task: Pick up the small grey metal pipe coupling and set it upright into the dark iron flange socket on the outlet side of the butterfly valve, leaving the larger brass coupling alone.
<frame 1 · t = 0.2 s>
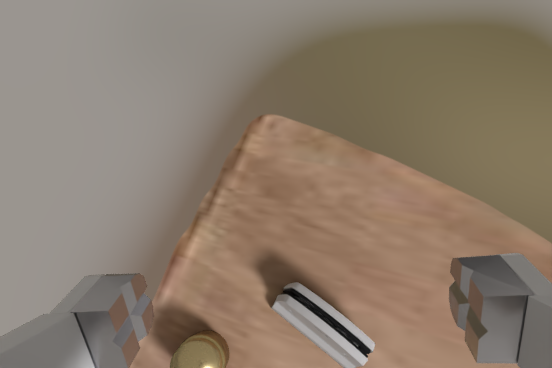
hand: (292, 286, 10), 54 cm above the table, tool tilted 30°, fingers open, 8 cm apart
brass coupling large: (207, 353, 63), on the table
grey bevelled device: (322, 319, 62), on the table
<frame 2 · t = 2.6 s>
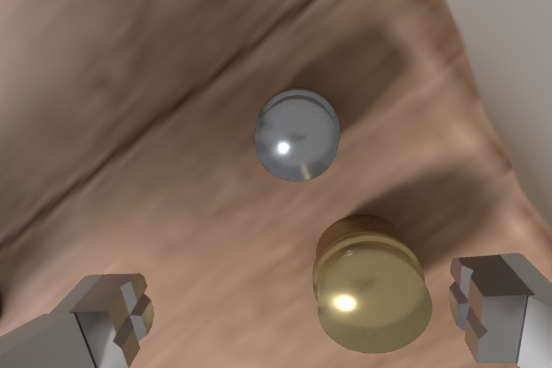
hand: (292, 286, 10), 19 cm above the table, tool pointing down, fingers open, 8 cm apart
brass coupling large: (360, 254, 31), on the table
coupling: (298, 121, 28), on the table
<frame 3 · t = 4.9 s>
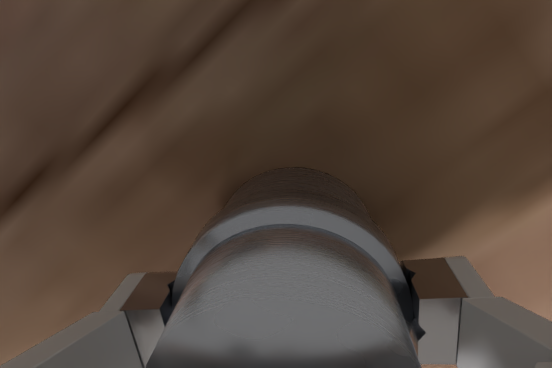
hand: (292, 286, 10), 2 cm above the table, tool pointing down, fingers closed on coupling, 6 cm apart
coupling: (294, 240, 12), on the table, touching gripper
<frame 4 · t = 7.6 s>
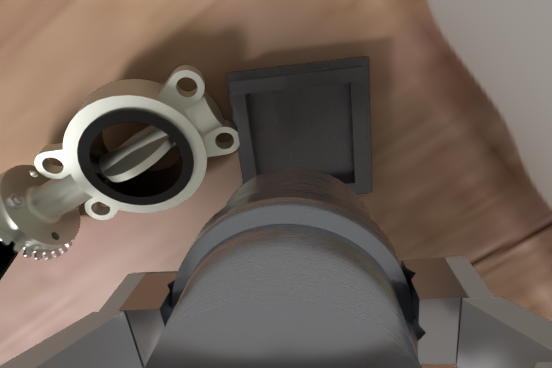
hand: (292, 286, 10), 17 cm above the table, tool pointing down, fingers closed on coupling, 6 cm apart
flange socket: (302, 131, 25), on the table
butterfly valve: (136, 152, 28), on the table, touching flange socket
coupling: (294, 240, 12), point 15 cm above the table, touching gripper
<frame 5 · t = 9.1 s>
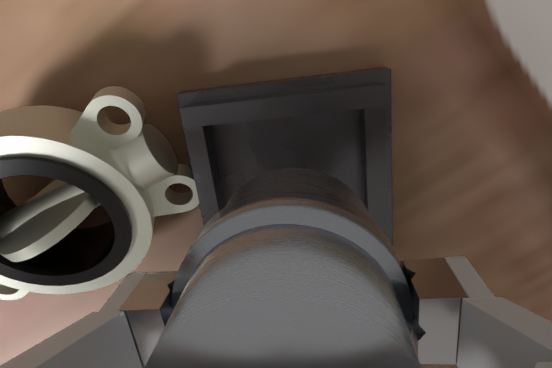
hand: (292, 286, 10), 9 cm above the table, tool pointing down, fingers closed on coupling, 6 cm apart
flange socket: (291, 175, 18), on the table
butterfly valve: (62, 201, 20), on the table, touching flange socket
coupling: (294, 240, 12), point 6 cm above the table, touching gripper
when the fingers open (5 cm above the table, at t = 10.3 s): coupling drops 2 cm, resting on flange socket.
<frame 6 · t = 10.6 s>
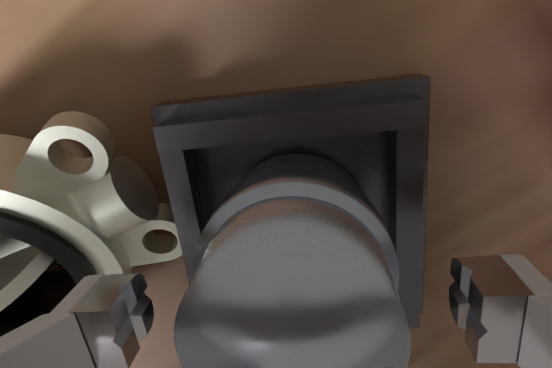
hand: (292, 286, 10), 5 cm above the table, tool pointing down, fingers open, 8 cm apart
flange socket: (297, 206, 14), on the table
butterfly valve: (25, 238, 17), on the table, touching flange socket
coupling: (297, 219, 13), point 1 cm above the table, touching flange socket
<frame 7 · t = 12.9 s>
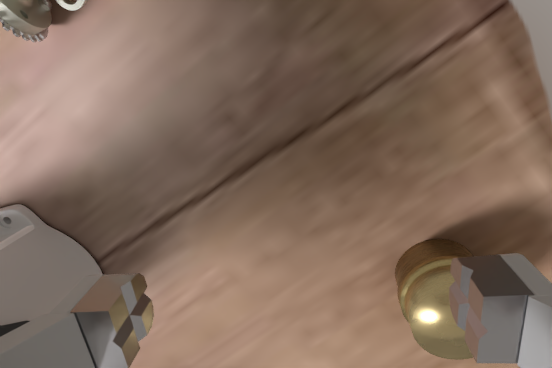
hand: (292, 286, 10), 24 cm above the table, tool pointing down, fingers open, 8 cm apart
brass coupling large: (434, 272, 36), on the table
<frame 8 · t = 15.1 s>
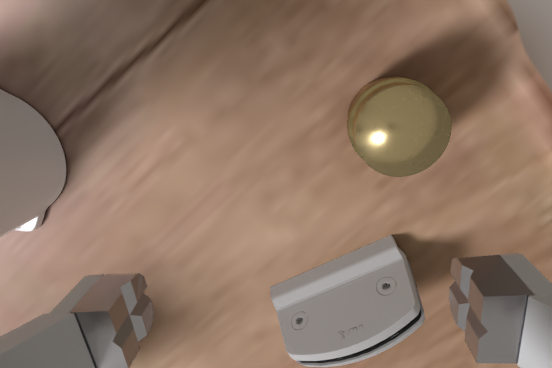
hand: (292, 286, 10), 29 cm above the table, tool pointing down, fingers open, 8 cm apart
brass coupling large: (386, 116, 37), on the table
grey bevelled device: (342, 284, 45), on the table
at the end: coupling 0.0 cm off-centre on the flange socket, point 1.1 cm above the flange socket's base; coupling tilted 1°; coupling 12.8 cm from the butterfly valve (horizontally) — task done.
